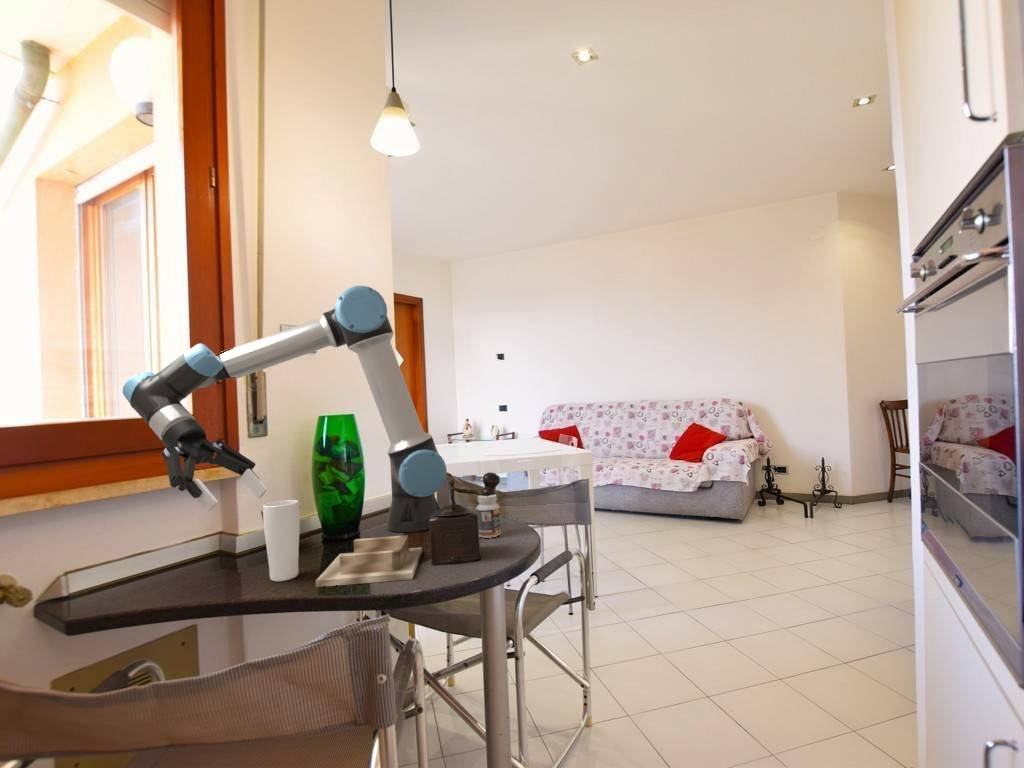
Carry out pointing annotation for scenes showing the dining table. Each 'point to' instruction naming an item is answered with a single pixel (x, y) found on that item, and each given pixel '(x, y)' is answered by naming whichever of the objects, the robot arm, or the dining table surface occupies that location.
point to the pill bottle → (488, 516)
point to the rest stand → (373, 562)
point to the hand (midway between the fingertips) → (239, 500)
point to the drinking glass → (282, 538)
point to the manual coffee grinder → (458, 527)
